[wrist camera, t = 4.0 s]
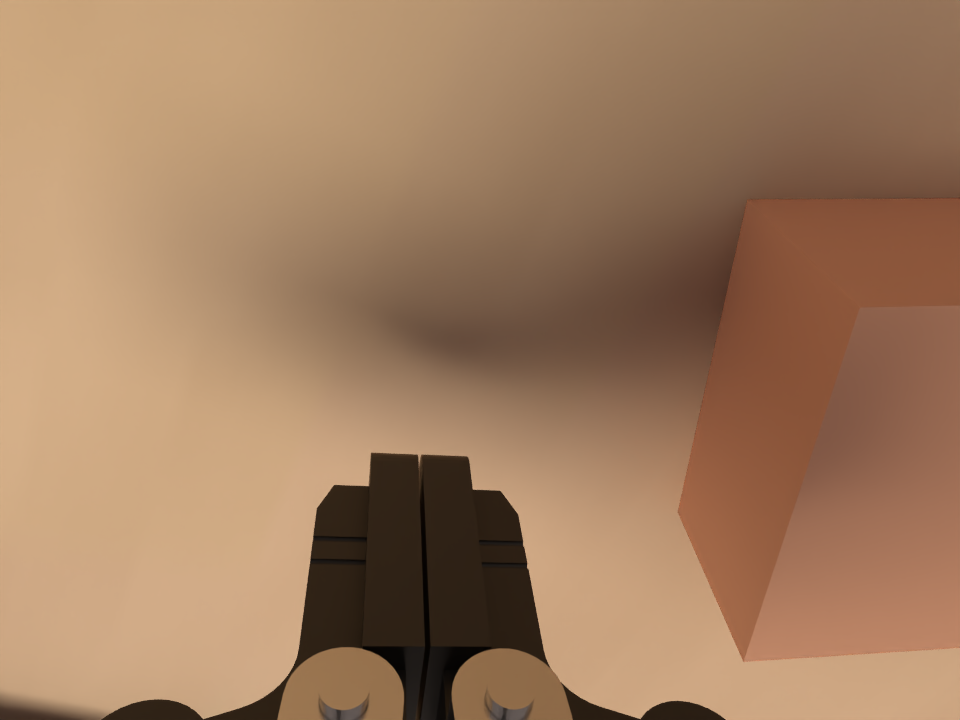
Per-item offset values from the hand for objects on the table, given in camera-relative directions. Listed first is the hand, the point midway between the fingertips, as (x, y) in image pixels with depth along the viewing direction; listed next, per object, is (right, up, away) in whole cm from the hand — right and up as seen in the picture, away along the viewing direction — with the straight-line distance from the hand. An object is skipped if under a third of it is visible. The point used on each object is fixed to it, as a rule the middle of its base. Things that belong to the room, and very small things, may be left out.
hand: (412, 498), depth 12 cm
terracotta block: (+10, +2, +5) cm, 12 cm away
